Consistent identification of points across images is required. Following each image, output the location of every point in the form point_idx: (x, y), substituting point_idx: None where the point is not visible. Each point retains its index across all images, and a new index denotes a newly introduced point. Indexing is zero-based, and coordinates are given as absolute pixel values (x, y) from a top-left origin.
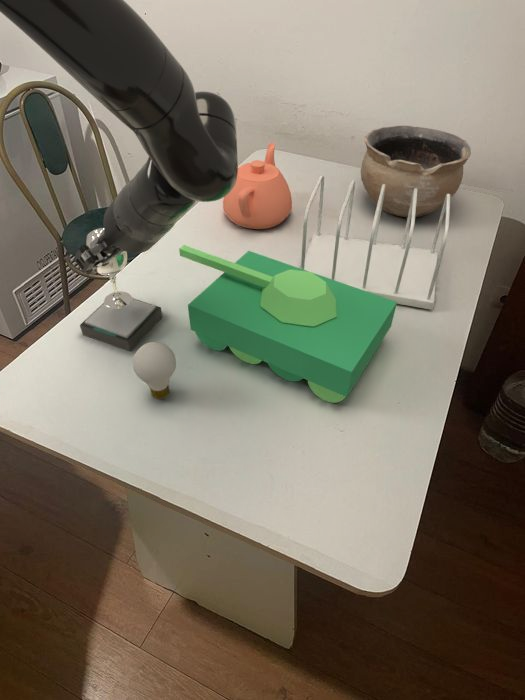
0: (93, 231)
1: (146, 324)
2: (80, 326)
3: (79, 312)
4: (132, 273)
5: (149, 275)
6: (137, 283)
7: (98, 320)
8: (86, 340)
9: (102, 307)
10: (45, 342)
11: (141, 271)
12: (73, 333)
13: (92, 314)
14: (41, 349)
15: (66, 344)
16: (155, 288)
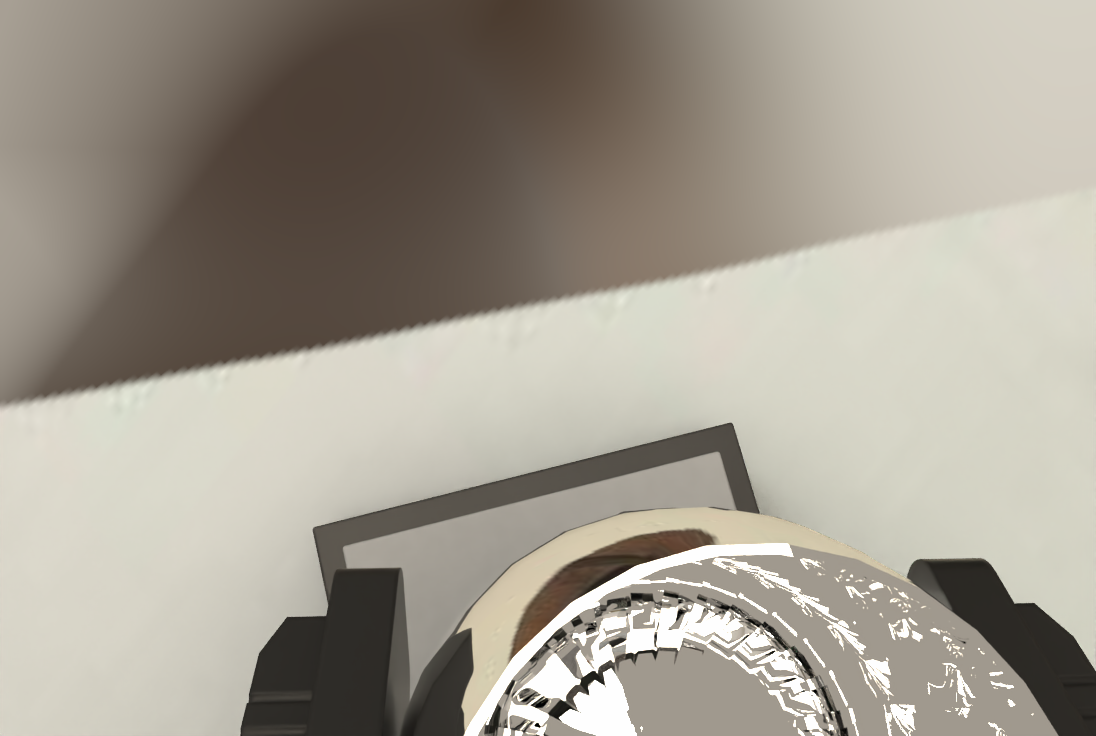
0: (756, 548)
1: None
2: (315, 531)
3: (469, 323)
4: (996, 264)
5: (1070, 376)
6: (949, 382)
7: (418, 623)
8: (305, 601)
9: (541, 519)
10: (124, 399)
11: (1057, 295)
12: (299, 470)
13: (437, 526)
14: (62, 436)
15: (195, 526)
16: (1007, 531)
